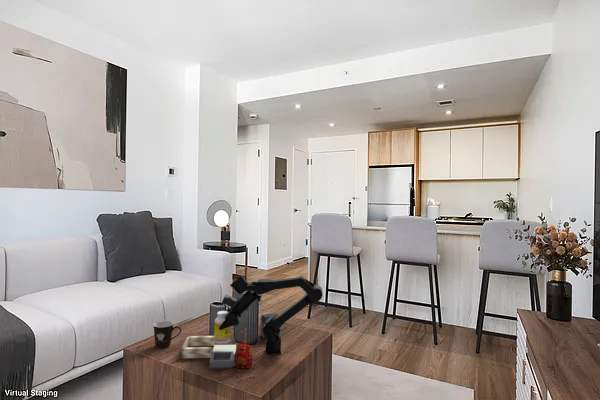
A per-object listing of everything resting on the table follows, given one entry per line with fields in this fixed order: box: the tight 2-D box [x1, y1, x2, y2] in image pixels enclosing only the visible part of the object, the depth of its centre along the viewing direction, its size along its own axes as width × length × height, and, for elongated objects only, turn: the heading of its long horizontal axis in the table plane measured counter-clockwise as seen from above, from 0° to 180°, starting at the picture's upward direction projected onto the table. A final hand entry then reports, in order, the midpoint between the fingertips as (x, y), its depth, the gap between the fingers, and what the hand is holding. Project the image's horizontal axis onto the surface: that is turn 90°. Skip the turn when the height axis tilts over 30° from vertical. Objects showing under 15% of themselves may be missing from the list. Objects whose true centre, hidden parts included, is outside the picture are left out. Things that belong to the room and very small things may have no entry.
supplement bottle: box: [213, 310, 231, 344], centre depth 159 cm, size 7×7×13 cm
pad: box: [212, 344, 237, 355], centre depth 160 cm, size 10×10×1 cm
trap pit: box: [208, 351, 235, 370], centre depth 147 cm, size 9×9×3 cm
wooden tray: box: [180, 335, 216, 359], centre depth 158 cm, size 12×14×4 cm
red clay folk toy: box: [233, 328, 253, 370], centre depth 146 cm, size 8×7×15 cm
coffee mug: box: [153, 320, 182, 349], centre depth 162 cm, size 12×9×10 cm
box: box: [259, 312, 279, 340], centre depth 178 cm, size 8×6×11 cm
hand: (220, 326), depth 159 cm, fingers closed on supplement bottle, 7 cm apart
